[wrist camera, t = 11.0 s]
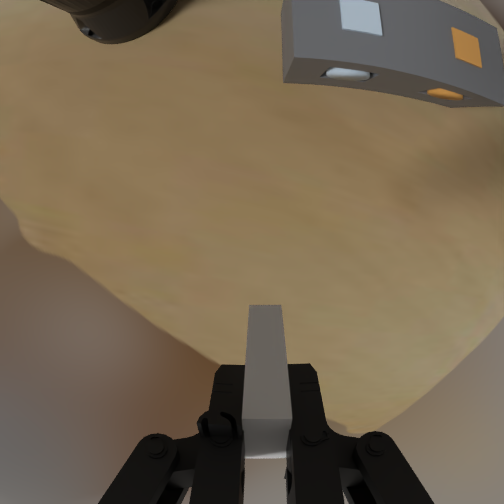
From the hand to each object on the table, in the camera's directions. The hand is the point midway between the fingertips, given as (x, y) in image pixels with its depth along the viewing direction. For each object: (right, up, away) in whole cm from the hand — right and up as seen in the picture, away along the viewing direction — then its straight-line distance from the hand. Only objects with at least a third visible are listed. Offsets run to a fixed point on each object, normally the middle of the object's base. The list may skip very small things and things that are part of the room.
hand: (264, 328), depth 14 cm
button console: (+15, +28, +15) cm, 35 cm away
